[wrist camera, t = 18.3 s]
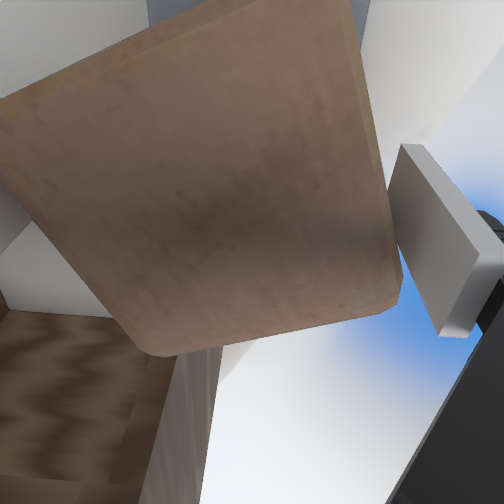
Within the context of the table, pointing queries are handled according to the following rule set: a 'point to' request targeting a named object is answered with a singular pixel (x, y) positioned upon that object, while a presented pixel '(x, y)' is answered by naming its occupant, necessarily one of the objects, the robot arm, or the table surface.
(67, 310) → the table surface
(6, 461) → the cubby
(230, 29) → the wooden block
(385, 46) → the table surface
